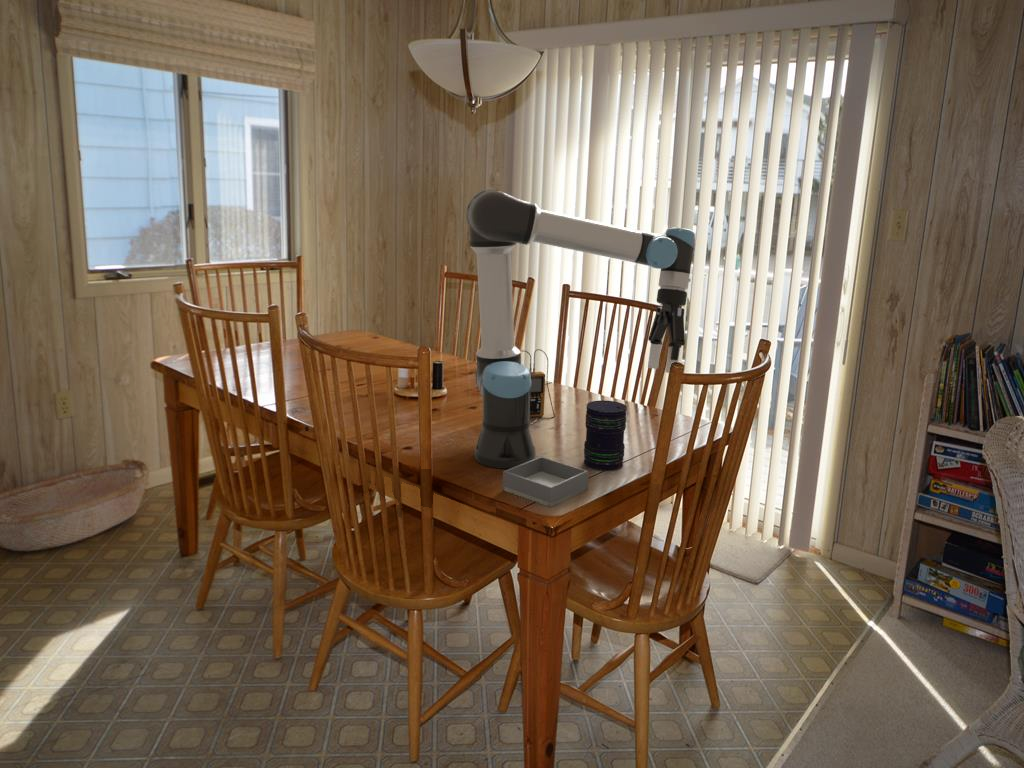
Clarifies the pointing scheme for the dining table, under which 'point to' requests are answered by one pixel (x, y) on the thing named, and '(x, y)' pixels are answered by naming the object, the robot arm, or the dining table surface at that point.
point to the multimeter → (538, 391)
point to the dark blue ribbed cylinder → (605, 435)
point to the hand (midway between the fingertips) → (661, 370)
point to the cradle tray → (545, 481)
